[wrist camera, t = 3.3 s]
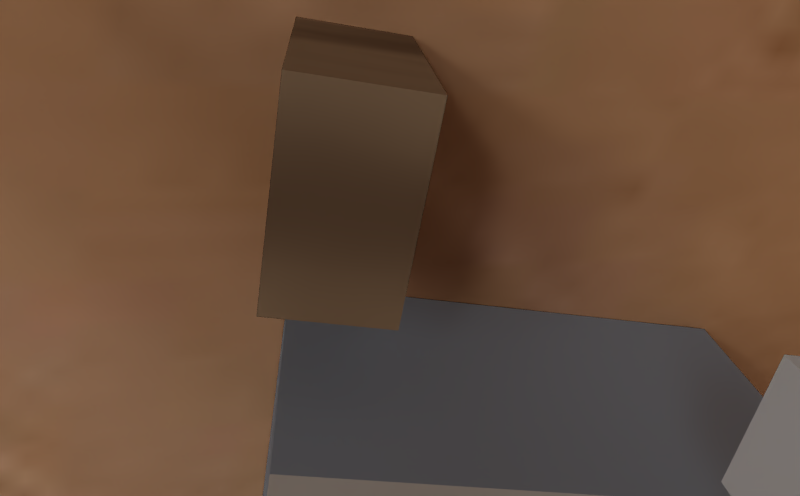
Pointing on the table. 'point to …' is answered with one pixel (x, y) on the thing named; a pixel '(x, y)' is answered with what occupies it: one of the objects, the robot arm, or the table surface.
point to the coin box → (504, 407)
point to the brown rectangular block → (348, 175)
